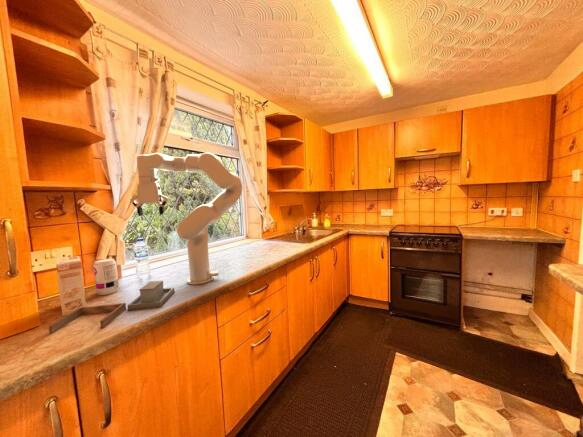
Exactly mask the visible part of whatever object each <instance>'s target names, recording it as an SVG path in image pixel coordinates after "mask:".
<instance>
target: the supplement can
mask: <svg viewBox="0 0 583 437" xmlns="http://www.w3.org/2000/svg"><path fill="white" fill-rule="evenodd" d="M92 266H93V275H94V282H95V292H96V294H97V295H99V296H106V295H110V294H114V293H116V292H118V290H119V289H120V286H119V276H118V266H117V261H116V260H115V259H114V258H105V259H100V260H95V261H94V263H93V265H92Z"/></svg>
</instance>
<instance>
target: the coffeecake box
mask: <svg viewBox="0 0 583 437" xmlns="http://www.w3.org/2000/svg"><path fill="white" fill-rule="evenodd" d="M55 260H56V261H55V264H56V265H55V266H56V273H57V284H58V290H59V300H60V308H61V312H62V313H61V315H62V317H65V316H67V315H68V314H70V313H72V312H73V311H75V310H77V309H78V308H80V307H87V303H86V294H85V286H84V285H85V284H84V278H83V277H84V275H83V268H82V260H81V257H80V256H79V255H74V256H67V257H66V256H65V257H61V258H56V259H55Z"/></svg>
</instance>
